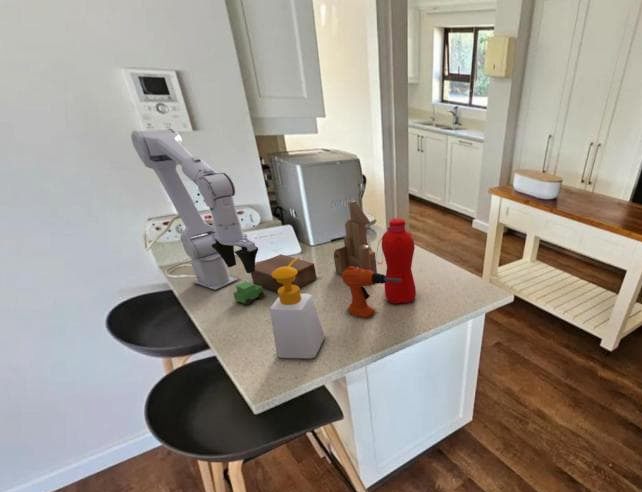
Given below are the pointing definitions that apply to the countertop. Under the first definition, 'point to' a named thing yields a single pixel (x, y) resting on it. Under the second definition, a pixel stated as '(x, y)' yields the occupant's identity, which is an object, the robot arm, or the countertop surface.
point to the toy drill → (362, 289)
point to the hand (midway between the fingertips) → (241, 268)
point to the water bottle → (398, 262)
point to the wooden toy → (355, 244)
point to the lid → (281, 265)
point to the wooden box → (272, 283)
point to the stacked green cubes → (248, 292)
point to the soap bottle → (294, 318)
